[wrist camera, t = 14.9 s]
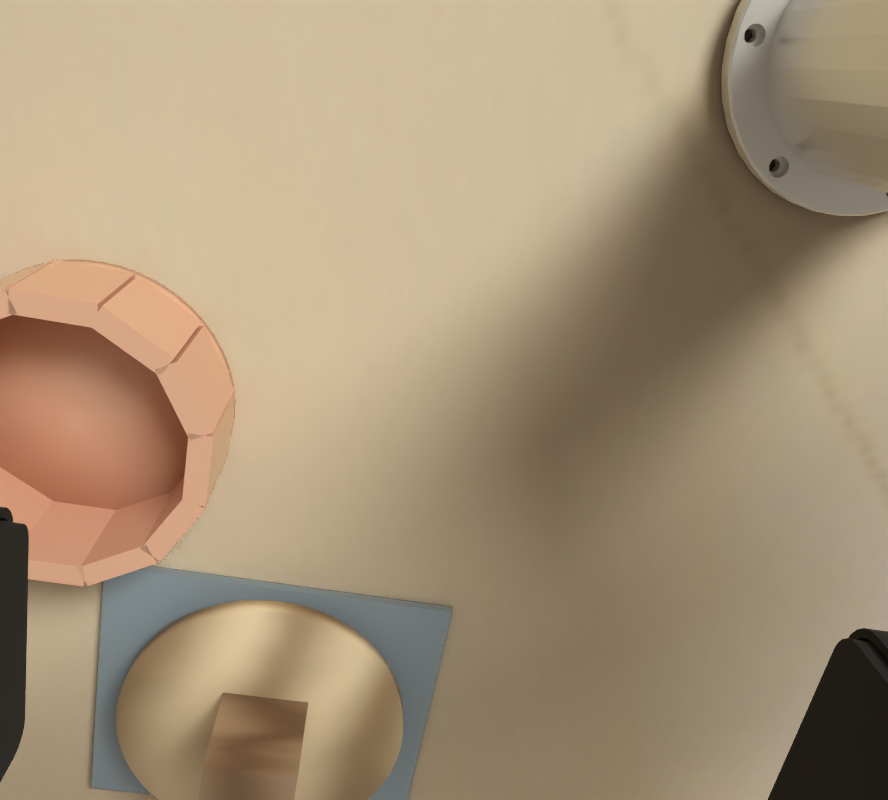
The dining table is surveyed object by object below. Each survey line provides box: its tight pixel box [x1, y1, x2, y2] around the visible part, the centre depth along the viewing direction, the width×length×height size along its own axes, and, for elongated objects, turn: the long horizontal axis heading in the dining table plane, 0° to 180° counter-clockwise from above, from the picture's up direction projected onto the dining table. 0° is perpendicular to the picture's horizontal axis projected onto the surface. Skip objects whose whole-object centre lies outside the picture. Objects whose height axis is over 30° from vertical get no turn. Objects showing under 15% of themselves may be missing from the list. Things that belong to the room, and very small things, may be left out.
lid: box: [116, 600, 403, 800], centre depth 44 cm, size 15×15×7 cm
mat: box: [91, 566, 452, 800], centre depth 47 cm, size 18×15×1 cm
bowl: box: [0, 260, 235, 587], centre depth 38 cm, size 13×13×6 cm
